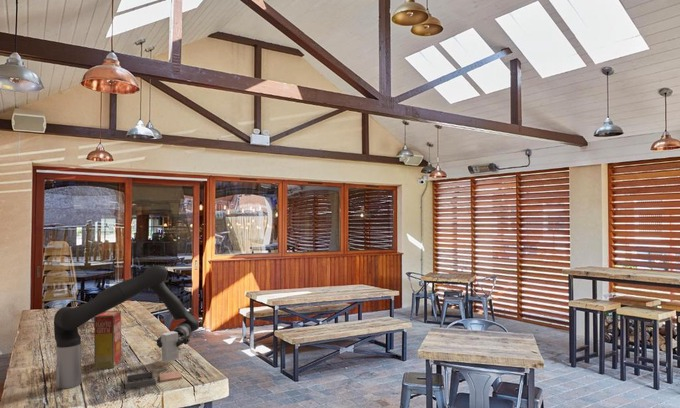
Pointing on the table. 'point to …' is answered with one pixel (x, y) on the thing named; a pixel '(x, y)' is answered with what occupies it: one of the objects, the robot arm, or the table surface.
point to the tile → (170, 376)
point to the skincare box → (169, 346)
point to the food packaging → (107, 339)
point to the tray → (138, 376)
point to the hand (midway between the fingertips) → (168, 345)
